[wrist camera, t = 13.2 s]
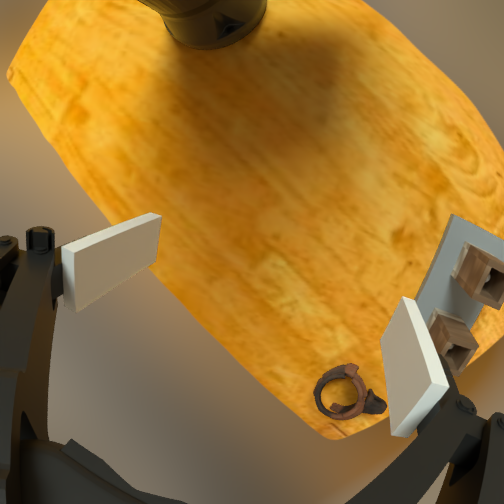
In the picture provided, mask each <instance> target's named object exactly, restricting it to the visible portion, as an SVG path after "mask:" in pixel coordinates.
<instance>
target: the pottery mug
mask: <svg viewBox="0 0 504 504" xmlns="http://www.w3.org/2000/svg"><path fill="white" fill-rule="evenodd" d="M358 369H359V367H358V366H357V365H355V364H352V363H349V364H347V365H340V366H337V367H335V368H333V369H331V370H329V371H327V372H326V373H324V374H323V377H322V378H320V379H319V381H318V382H317V385H316V387H315V389H314V392H313V394H314V396H315V402H316V405H317V407H318V409H319V411H320V412H322V413H323V414H324V415H326V416H328V417H330V418H332V419H335V420H348V419H352V418H354V417H356V416H358V415H359V414H361V413H368V414H382V413H383V412H384V411H385V410H386V408H387V404H386V402H385V401H384V400H383V399H381V398H379V397H378V396H376V395H375V394H374V393H373V390H372V389H369V391H368V394H367V390H366V386H365V384H364V382H363V380H362V378H361V377H360V376H359V375H358V374H357V373H356V371H357V370H358ZM345 376H348V377H350V378H352V381H351V382H352V383H353V384H354V385H355V387H356V388H357V391H358V400H357V402H356V403H355V404H352V405H349V406H342V405H339V404H336V403H333V404H332V406H331V407H330V409H331V410H333V411H335V412H337V413H334V412H331V411H329V410H327V409H326V408H325V407H324V405H323V404H322V402H321V391H322V389H323V387H324V386H325V385H326V384H327V383H328V382H329V381H331V380H333V379H338V378H343V379H345ZM365 397H366V400H365V401H364V398H365Z"/></svg>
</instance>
